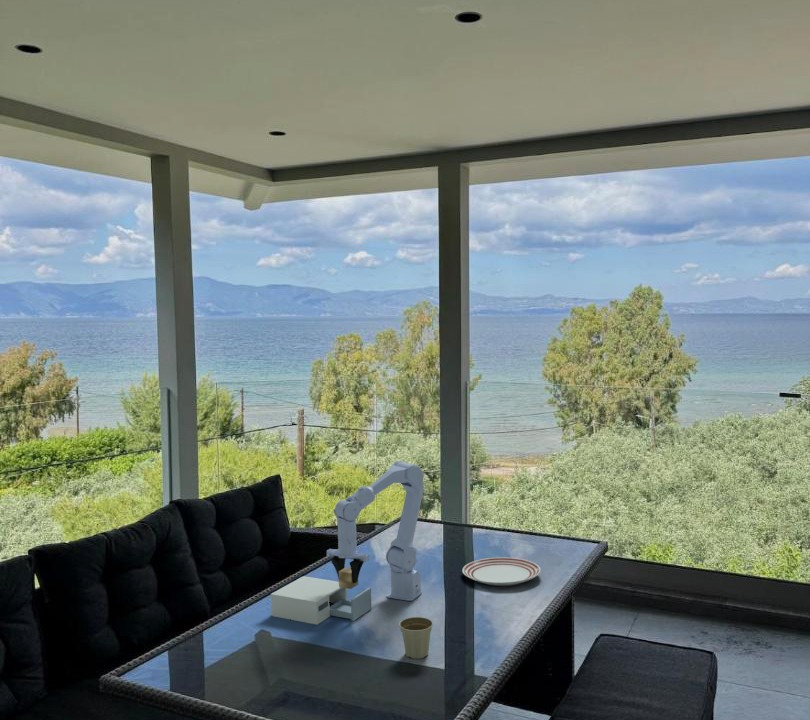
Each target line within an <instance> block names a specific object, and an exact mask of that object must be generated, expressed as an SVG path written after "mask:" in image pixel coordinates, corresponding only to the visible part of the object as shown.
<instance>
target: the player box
mask: <svg viewBox="0 0 810 720" xmlns="http://www.w3.org/2000/svg"><path fill="white" fill-rule="evenodd" d="M348 598H349V597H348V588H342V587H339V581H336V580H331V579H330V580H329V579H324V578H317V577H312V576H311V577H310V576H304V575H303V576H301V577H299V578H297V579H296V580H294V581H291V582H290V583H288V584H286V585H284V586H283V587H281V588H279V589H277V590H276V591H274V592H272V593H270V609H271V615H270V616H271V617H275V618H279V619H280V618H281V619H284V620H290V619H291V621H295V622H296V621H297V622H302V623H306V624H312V625H317V626H318V625H319V624H320V623H322V622H324V621H325V620H326V619H328V618H330V617H331V615H330V606H331V605H330V604H335V603H336V602H338V601H339V600H341V599H344V600H348ZM329 602H331V603H329Z"/></svg>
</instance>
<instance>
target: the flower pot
mask: <svg viewBox="0 0 810 720" xmlns="http://www.w3.org/2000/svg"><path fill="white" fill-rule="evenodd" d="M433 626H434V622H433V620H432V619H430V618H427V617H425V616H424V617H423V616H422V617H421V616H412V617H406V618H404V619H402V620H400V621H399V622H398V627H399V628H400V631H401V633H402V634H401V635H402V638H403V639H402V641H403V645H404V650H405V651H404V652H405V655H406V656H407V658H408V657H410V658H411V659H413V660H414V659H415V660H417V659H424V658H425V657H427V656H428V655H429V649H430V639H431V632H432V628H433Z"/></svg>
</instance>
